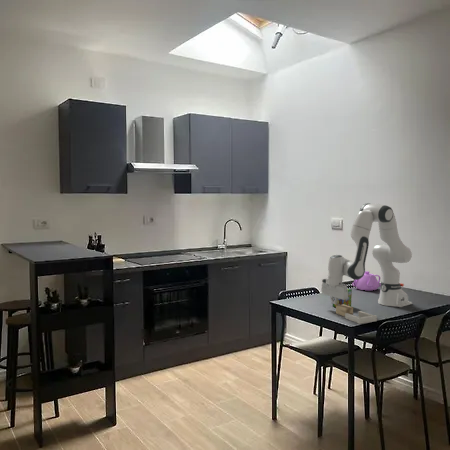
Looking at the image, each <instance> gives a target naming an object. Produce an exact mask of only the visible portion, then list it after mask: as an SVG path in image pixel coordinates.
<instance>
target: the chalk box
mask: <svg viewBox="0 0 450 450" xmlns="http://www.w3.org/2000/svg"><path fill="white" fill-rule="evenodd" d="M342 284H344V283H343V282H342ZM347 289H348V299H346V300H342V299H338V301H337V304H336V305H347V306H350V307H352V295H353V293H352V292H353V291H352V289H351V288H347ZM334 300H335V299H334ZM336 305H335V304H332V307H333V308H336Z"/></svg>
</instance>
